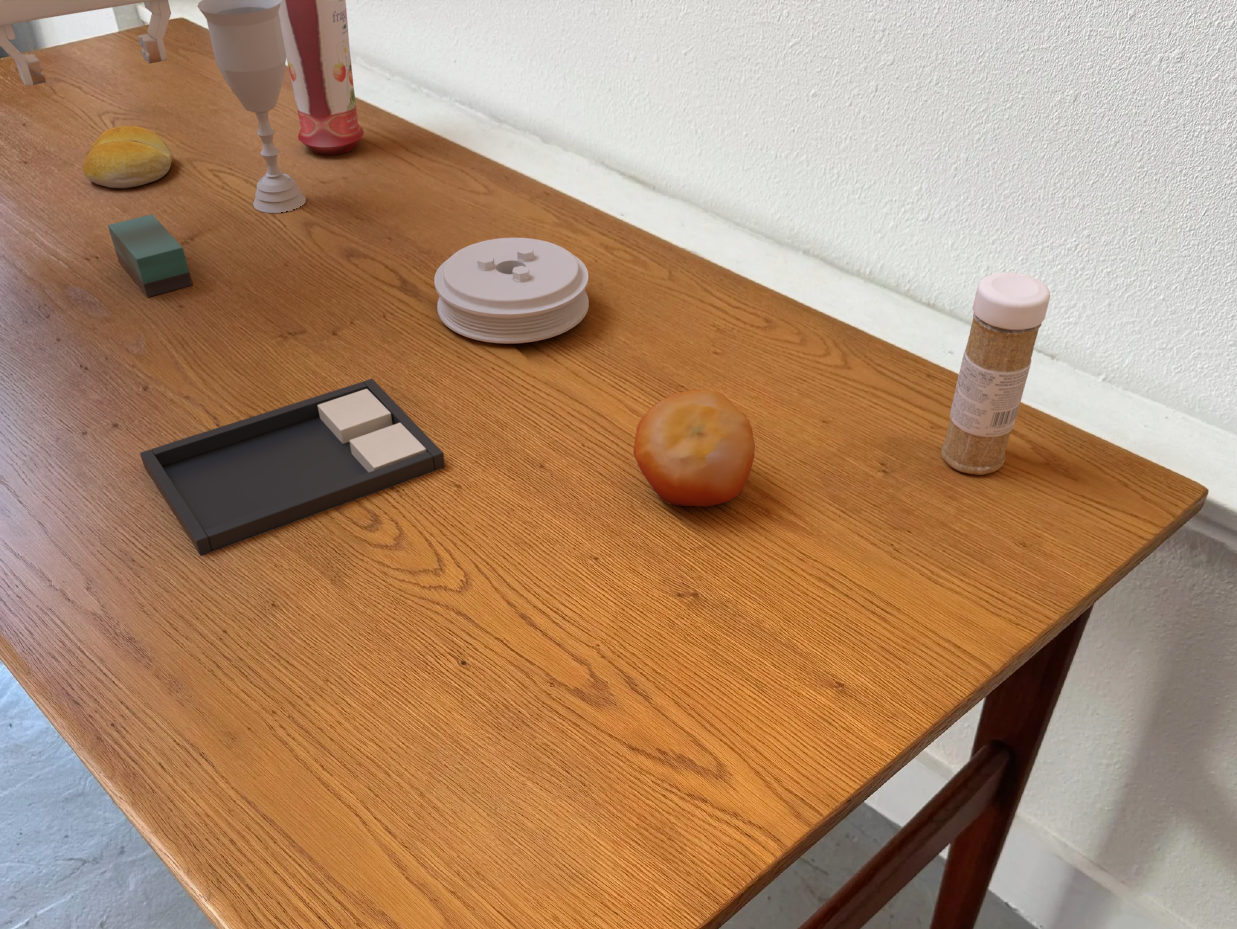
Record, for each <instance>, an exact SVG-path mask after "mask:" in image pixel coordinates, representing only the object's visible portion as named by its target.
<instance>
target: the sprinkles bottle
mask: <svg viewBox="0 0 1237 929" xmlns="http://www.w3.org/2000/svg"><path fill="white" fill-rule="evenodd" d="M1050 299H1051V291H1050V289H1049V287H1048V286H1047V285H1046V283H1044V282H1042V281H1041V280H1039V279H1038V278H1036V277H1033V276H1031V275H1029V274H1028V275H1027V274H1024V273H1018V272H1011V271H1010V272H996V273H992V274H989V275H987V276H985V277H983V278H982V279H981V280H980V281H979V283H978V284H977V288H976V291H975V296H974V299H973V304H972V311H973V314H972V322H971V326H970V330H969V335H968V339H967V342H966V346H965V349H964V352H963V355H962V360H961V364H960V369H959V373H958V377H957V381H956V386H955V390H954V395H953V399H952V403H951V408H950V412H949V417H950V418H949V421H948V425H947V429H946V434H945V438H944V441H943V443H942V445H941V449H940V450H941V452H940V454H941V458H942V459H943V460H944V462H945V463H946V464H948V466H950V467H951V468H952V469H954V470H956V471H959V472H961V473H966V474H968V475H976V476H977V475H978V476H982V475H987V474H992V473H994V472H997V471H998V470H1000V469H1001V468H1002V467H1003V465H1004V463H1005V461H1006V450H1007V448H1008V444H1009V440H1010V436H1011V432H1012V430H1013V428H1014V427H1015V423H1016V421H1017V420H1016V419H1017V416H1018V413H1019V409H1020V405H1021V402H1022V398H1023V394H1024V390H1025V387H1026V384H1027V380H1028V376H1029V372H1030V369H1031V365H1032V356H1033V353H1034V349H1035V344H1036V341H1037V337H1038V335H1039V334H1038V333H1039V330H1040V328H1041V327H1042V324H1043V322H1044V321H1045V318H1046V315H1047V312H1048V308H1049V304H1050Z"/></svg>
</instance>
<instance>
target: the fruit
mask: <svg viewBox="0 0 1237 929" xmlns="http://www.w3.org/2000/svg"><path fill="white" fill-rule="evenodd" d="M634 436H635V437H634V441H633V442H634V444H633V456H634V458H635V460H636V463H637V466H638V468H639V470H640V471H641V473H642V475H643V476H644V477H645V479H646V481H647V482H648V483H649V485H650V486H651V488H652V489H653V490H654V492H655V493H656V495H657V496H658V497H659V499H660V500H661V501H663V502H665V503H666V504H668V505H671V506H678V507H712V506H717V505H722V504H725V503H728V502H730V501H731V500H733V499H735V498H736V497H737V496H739V495H740V494H741V492H743V490H744V488H745V485H746V483H747V480H748V478H749V476H750V473H751V471H752V468H753V463H754V460H755V450H756V443H755V440H754V439H755V438H754V431H753V427H752V425H751V422H750V419H749V418H748V416H747V415H746V413H745V412H744V411H742V410H741V409H739V408H738V407H737V406H736V405H735V404H734V403H733V402H732V401H731V400H730V399H729V398H728V397H727V396H725V394H723V393H721V392H719V391H716V390H709V389H696V388H695V389H689V390H684V391H680V392H677V393H673V394H670V395H669V396H668V395H667V396H666V397H665V398H662V399H661V400H660V401H658V402H656V403H655V404H654V405H653V406H652V407H651V408H649V409H648V410H647V411H646V412H645V413H644V415H643V416H642V417H641V419H640V420H639V422H638V424H637V426H636V432H635V435H634Z"/></svg>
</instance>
